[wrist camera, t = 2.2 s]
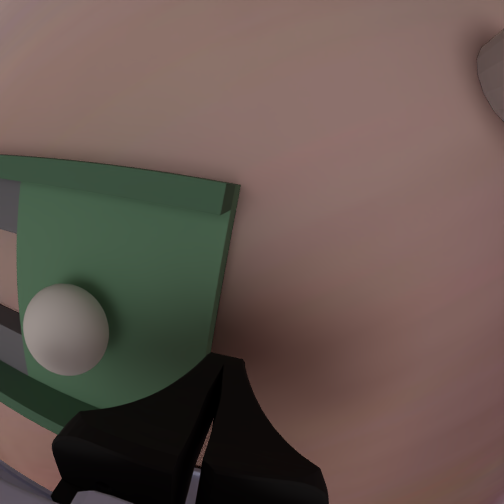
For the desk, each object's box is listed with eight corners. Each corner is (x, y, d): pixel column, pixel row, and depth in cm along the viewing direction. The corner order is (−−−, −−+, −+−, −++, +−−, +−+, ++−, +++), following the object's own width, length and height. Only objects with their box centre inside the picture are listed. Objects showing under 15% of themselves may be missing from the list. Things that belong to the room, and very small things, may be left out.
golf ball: (122, 360, 14) (84, 406, 10) (58, 336, 14) (13, 371, 10) (125, 284, 13) (77, 318, 9) (56, 264, 13) (1, 288, 9)
